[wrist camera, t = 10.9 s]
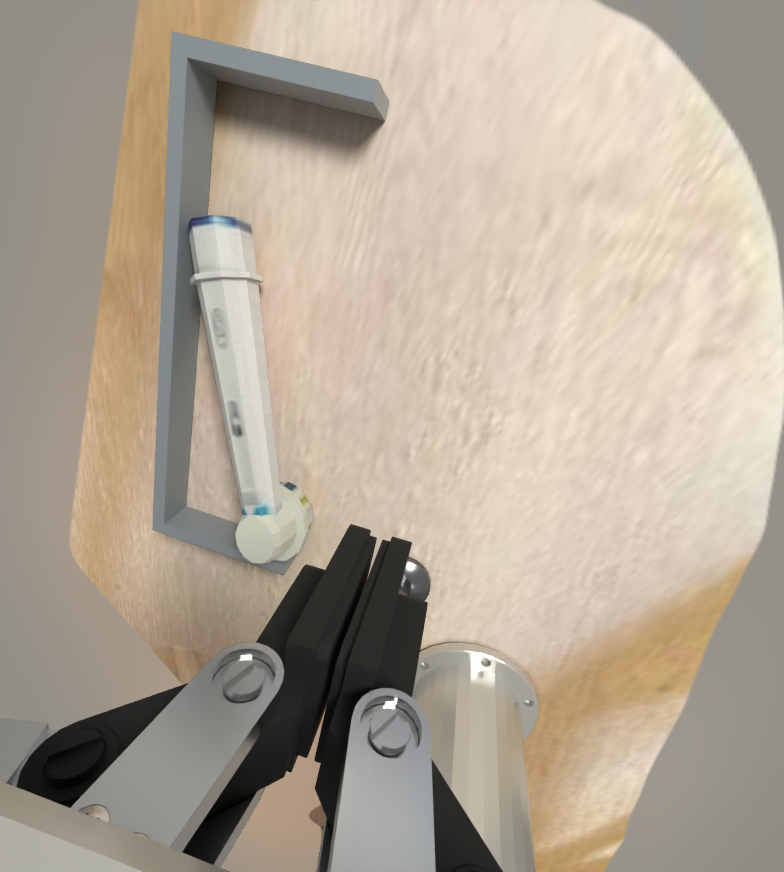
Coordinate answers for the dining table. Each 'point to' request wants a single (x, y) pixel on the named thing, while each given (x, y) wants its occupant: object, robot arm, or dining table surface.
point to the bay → (180, 304)
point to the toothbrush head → (245, 387)
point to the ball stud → (415, 580)
